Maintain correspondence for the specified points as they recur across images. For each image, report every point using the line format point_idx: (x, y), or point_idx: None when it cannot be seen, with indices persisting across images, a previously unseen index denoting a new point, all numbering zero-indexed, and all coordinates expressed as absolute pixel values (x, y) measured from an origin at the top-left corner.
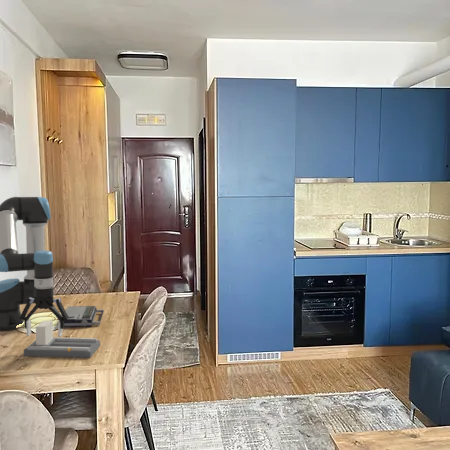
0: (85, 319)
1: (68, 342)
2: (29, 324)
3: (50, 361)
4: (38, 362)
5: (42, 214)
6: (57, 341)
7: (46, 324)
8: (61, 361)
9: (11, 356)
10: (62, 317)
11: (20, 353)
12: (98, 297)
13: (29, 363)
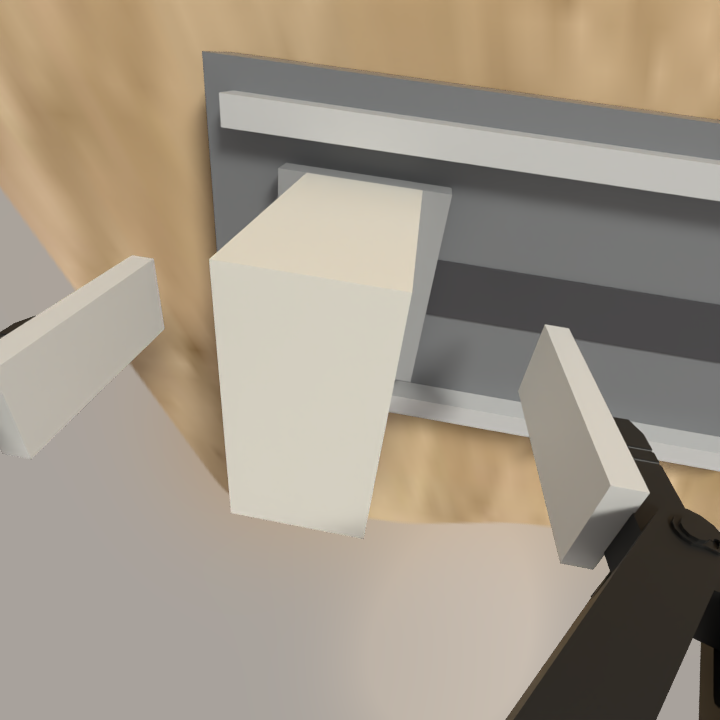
0: None
1: (616, 232)
2: (67, 378)
3: (458, 457)
4: (384, 459)
5: None
6: (479, 186)
7: (349, 462)
8: (533, 467)
9: (163, 350)
10: (688, 582)
11: (193, 303)
12: None
13: None
